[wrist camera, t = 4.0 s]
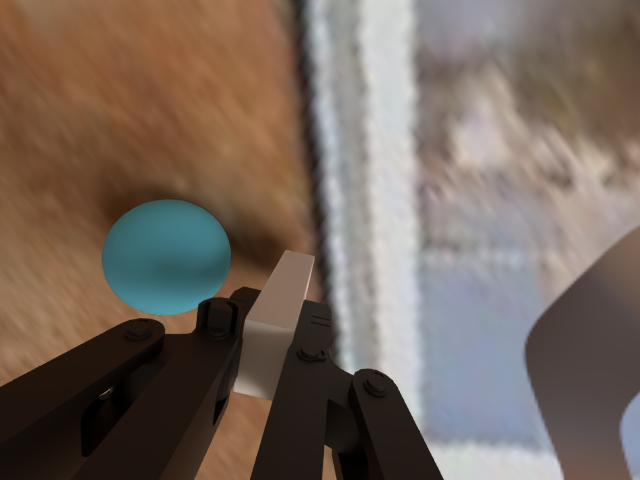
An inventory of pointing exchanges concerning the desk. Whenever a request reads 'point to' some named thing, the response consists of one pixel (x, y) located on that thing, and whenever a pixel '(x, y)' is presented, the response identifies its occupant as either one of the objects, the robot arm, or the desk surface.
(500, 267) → the desk surface
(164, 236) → the ball
